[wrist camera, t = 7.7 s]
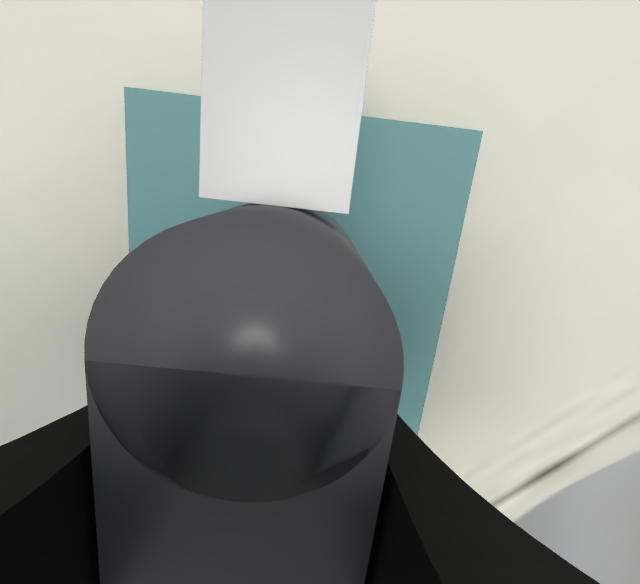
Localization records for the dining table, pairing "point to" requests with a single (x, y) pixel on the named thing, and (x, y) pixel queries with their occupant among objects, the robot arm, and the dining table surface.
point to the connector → (251, 330)
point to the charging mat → (360, 224)
